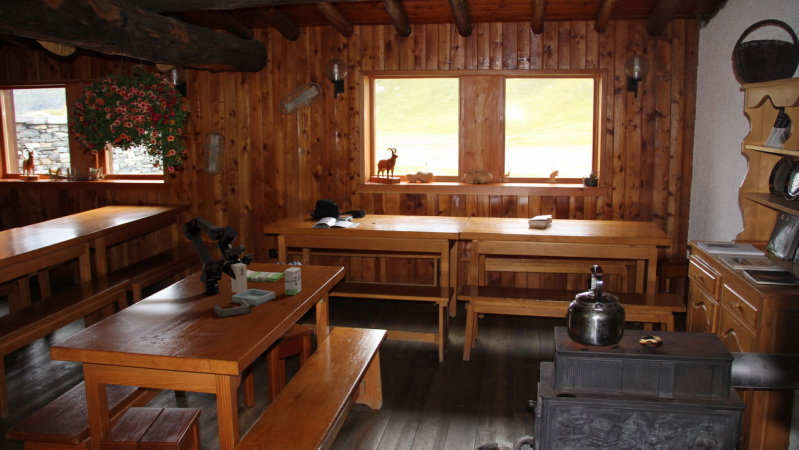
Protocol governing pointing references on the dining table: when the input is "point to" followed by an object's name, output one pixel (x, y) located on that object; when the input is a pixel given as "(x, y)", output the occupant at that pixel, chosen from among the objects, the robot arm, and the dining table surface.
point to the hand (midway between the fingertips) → (240, 277)
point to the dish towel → (263, 276)
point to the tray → (254, 297)
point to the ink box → (292, 281)
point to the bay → (233, 310)
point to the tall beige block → (239, 278)
